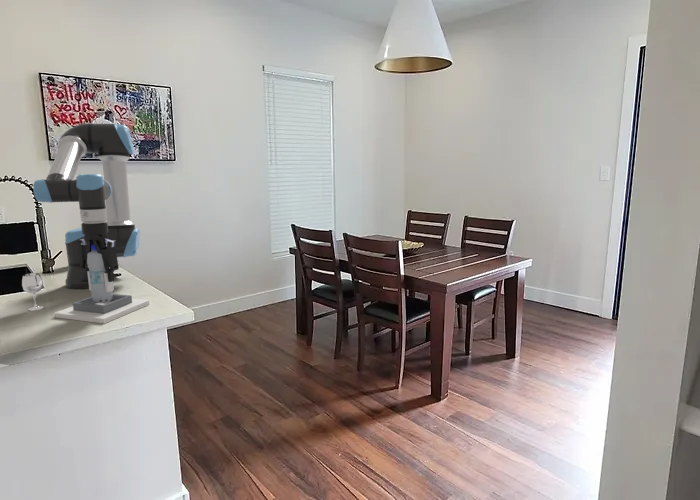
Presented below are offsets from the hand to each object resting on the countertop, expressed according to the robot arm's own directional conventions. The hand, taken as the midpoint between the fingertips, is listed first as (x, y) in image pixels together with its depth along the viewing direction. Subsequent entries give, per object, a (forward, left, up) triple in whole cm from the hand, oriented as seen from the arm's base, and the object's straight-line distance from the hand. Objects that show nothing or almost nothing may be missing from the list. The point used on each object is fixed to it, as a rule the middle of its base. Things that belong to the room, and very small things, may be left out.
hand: (101, 290), depth 152 cm
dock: (0, 0, -7) cm, 7 cm away
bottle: (0, 0, -4) cm, 4 cm away
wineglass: (+5, -24, -8) cm, 26 cm away
